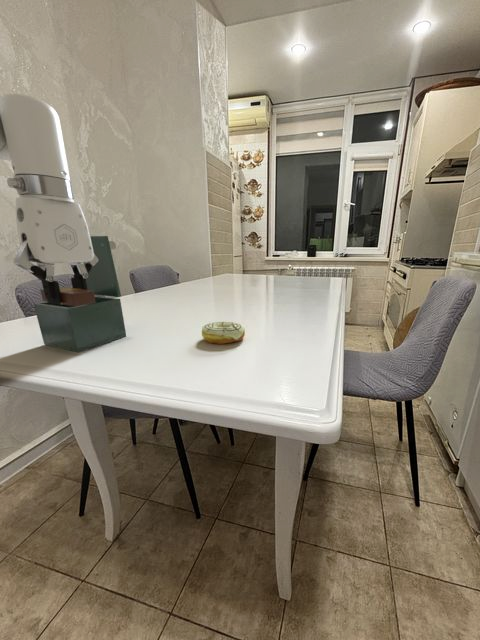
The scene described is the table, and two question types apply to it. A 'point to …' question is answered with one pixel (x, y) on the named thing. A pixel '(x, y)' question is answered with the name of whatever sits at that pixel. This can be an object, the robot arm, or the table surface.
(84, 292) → the chocolate
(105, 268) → the bin lid
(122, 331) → the bin
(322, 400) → the table surface
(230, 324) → the decorated donut
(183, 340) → the table surface
